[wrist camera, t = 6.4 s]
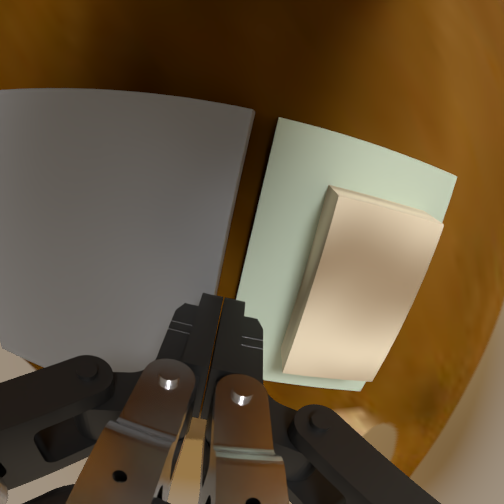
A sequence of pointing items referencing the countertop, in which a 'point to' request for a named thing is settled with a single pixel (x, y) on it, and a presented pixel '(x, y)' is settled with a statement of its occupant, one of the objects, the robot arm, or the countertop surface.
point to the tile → (357, 285)
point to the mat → (307, 218)
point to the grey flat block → (111, 217)
